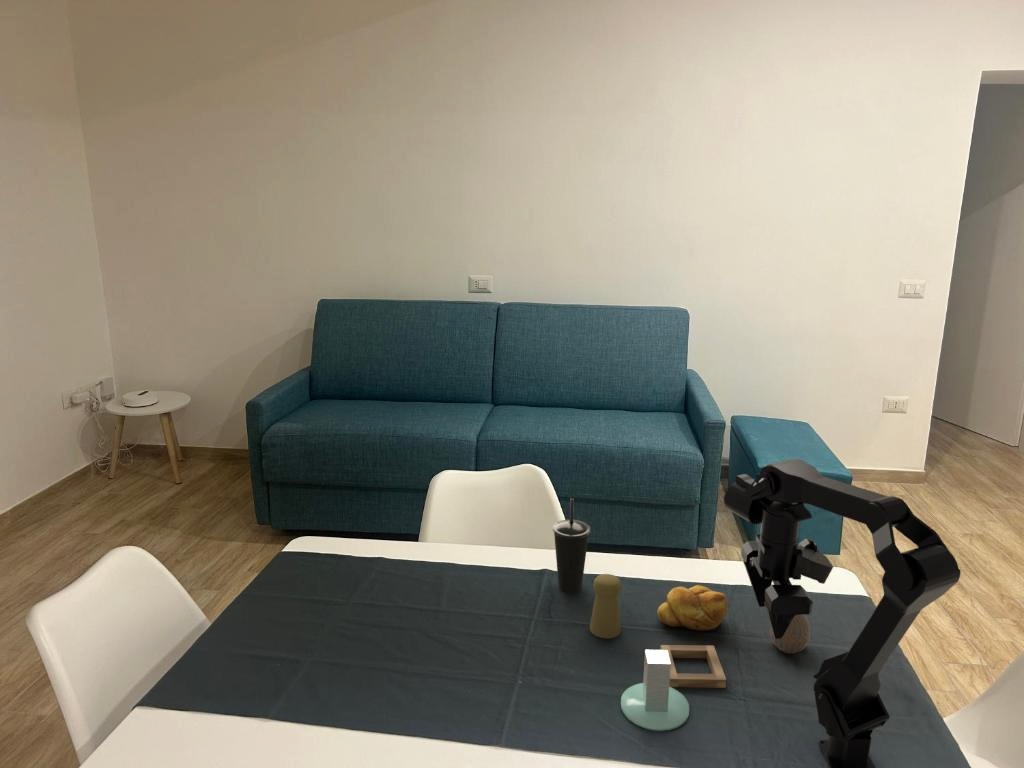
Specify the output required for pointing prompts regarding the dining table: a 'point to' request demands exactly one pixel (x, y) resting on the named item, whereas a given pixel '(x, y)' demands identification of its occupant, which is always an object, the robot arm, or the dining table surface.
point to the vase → (794, 635)
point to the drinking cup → (570, 552)
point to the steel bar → (656, 680)
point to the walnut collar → (695, 680)
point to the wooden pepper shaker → (606, 607)
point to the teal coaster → (654, 720)
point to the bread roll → (693, 608)
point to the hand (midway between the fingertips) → (769, 621)
